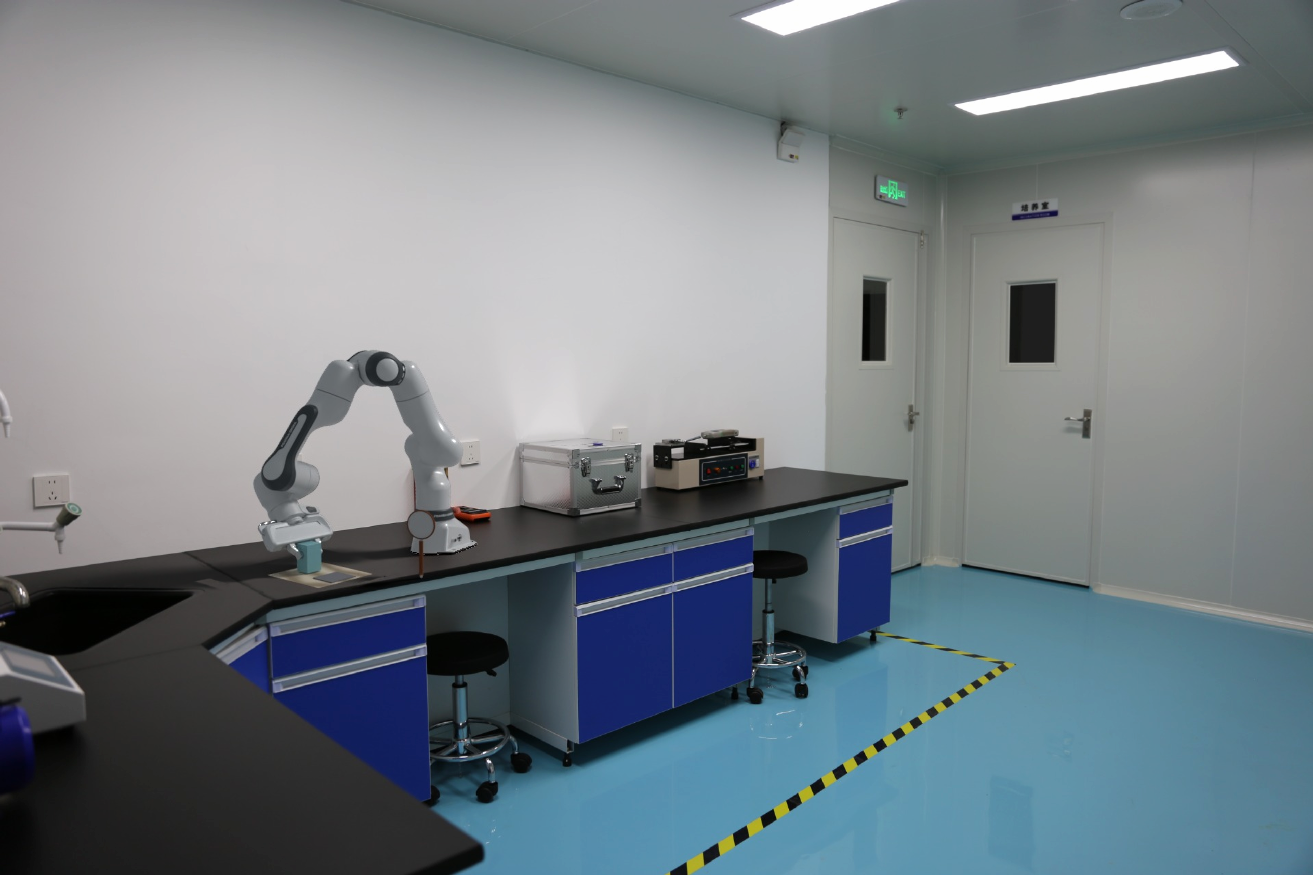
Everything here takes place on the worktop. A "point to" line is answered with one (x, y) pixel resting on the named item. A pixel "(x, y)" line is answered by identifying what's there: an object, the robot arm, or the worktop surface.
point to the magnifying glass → (421, 530)
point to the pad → (334, 577)
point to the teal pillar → (309, 557)
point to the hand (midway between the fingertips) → (310, 555)
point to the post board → (308, 578)
